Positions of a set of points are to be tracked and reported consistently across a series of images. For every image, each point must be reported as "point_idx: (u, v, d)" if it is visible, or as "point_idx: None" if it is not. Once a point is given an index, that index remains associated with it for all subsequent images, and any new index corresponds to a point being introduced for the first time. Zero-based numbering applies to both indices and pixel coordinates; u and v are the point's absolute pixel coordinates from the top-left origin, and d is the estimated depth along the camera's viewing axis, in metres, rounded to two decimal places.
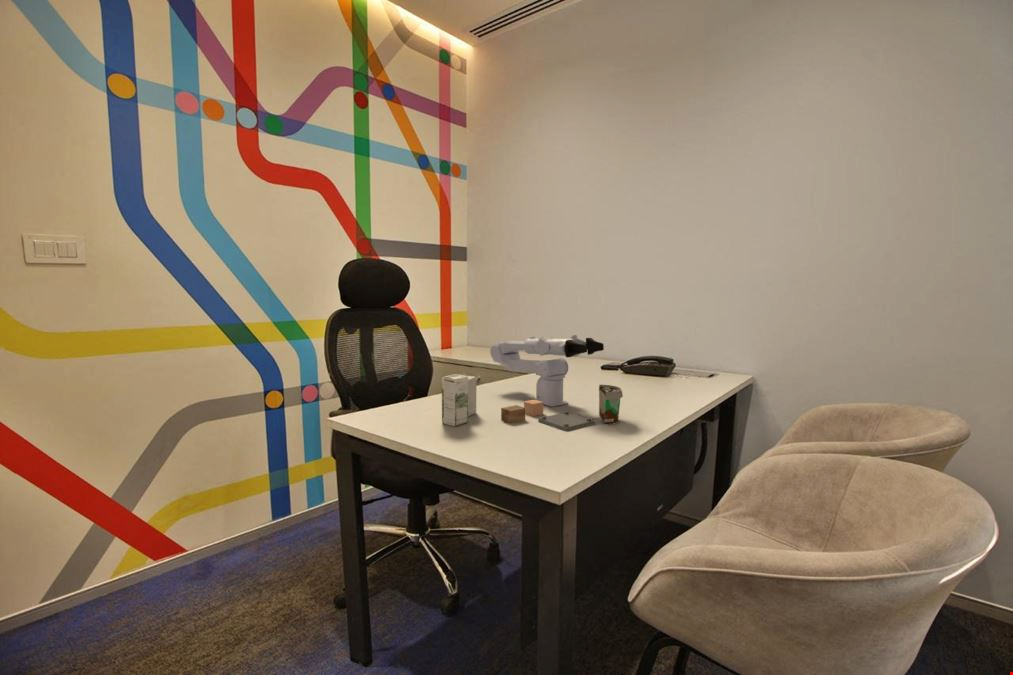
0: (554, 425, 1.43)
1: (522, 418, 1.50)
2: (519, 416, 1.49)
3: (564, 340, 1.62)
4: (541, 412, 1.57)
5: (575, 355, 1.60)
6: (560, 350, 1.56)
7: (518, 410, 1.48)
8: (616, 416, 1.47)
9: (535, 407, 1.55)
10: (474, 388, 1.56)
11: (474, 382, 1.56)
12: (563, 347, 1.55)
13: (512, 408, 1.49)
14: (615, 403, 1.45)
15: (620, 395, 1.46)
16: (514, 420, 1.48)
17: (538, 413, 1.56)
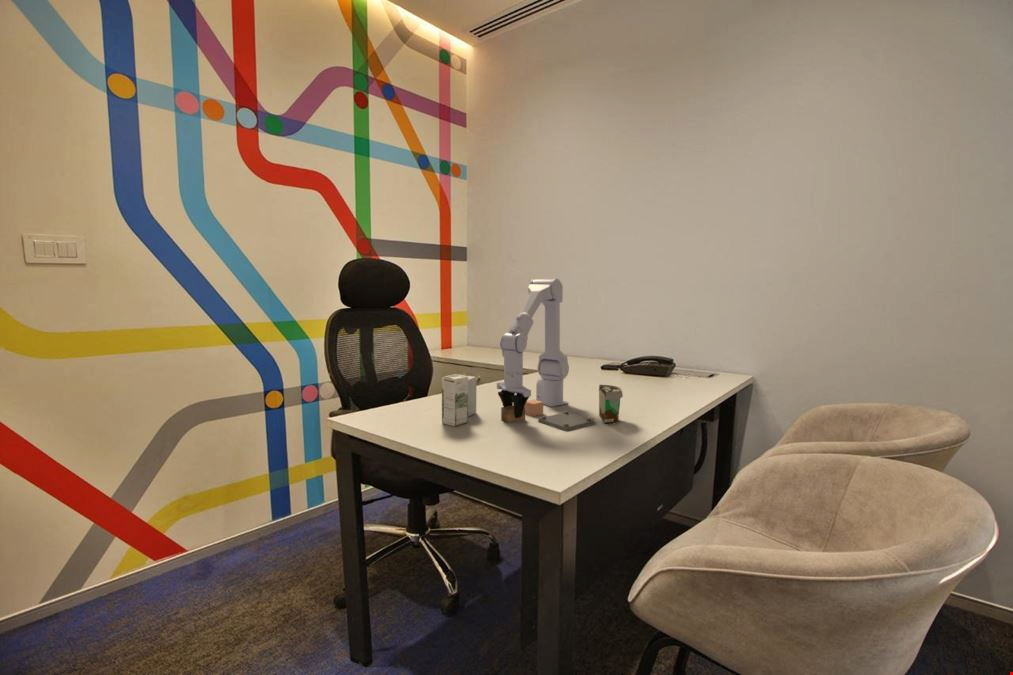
0: (554, 425, 1.43)
1: (522, 417, 1.49)
2: None
3: (504, 377, 1.49)
4: (541, 412, 1.57)
5: None
6: None
7: None
8: (616, 416, 1.47)
9: (536, 407, 1.55)
10: (474, 388, 1.56)
11: (474, 382, 1.56)
12: None
13: (512, 407, 1.49)
14: (615, 403, 1.45)
15: (620, 395, 1.46)
16: (514, 419, 1.48)
17: (538, 413, 1.56)
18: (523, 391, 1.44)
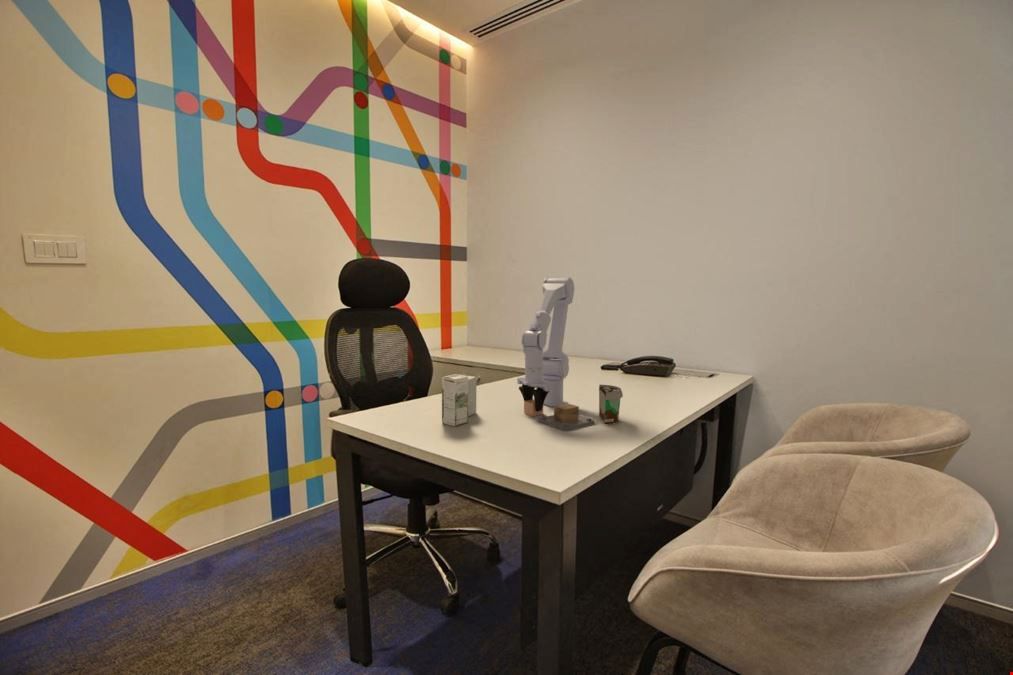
0: (554, 425, 1.43)
1: (575, 416, 1.47)
2: (573, 415, 1.46)
3: (525, 373, 1.56)
4: (541, 412, 1.57)
5: None
6: None
7: (572, 409, 1.45)
8: (616, 416, 1.47)
9: None
10: (474, 388, 1.56)
11: (474, 382, 1.56)
12: None
13: (565, 407, 1.46)
14: (615, 403, 1.45)
15: (620, 395, 1.46)
16: (568, 419, 1.45)
17: (538, 413, 1.56)
18: (544, 386, 1.51)
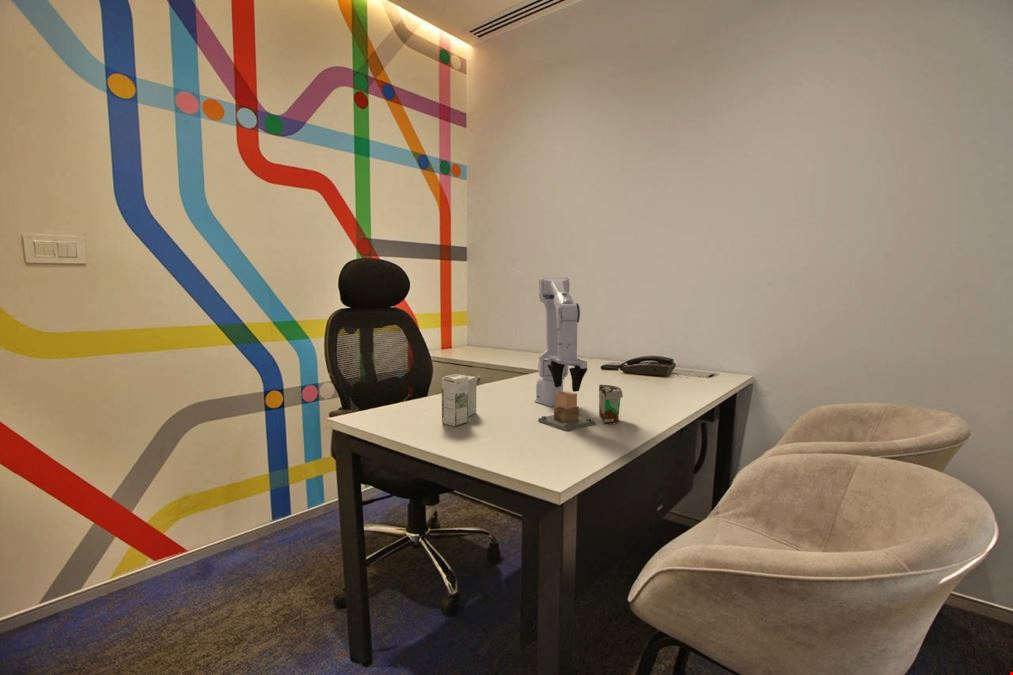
0: (554, 425, 1.43)
1: (575, 416, 1.47)
2: (573, 415, 1.46)
3: (558, 349, 1.45)
4: (575, 404, 1.46)
5: None
6: None
7: (572, 409, 1.45)
8: (616, 416, 1.47)
9: (569, 399, 1.44)
10: (474, 388, 1.56)
11: (474, 382, 1.56)
12: None
13: None
14: (615, 403, 1.45)
15: (620, 395, 1.46)
16: (568, 419, 1.45)
17: (571, 406, 1.45)
18: (579, 362, 1.40)
